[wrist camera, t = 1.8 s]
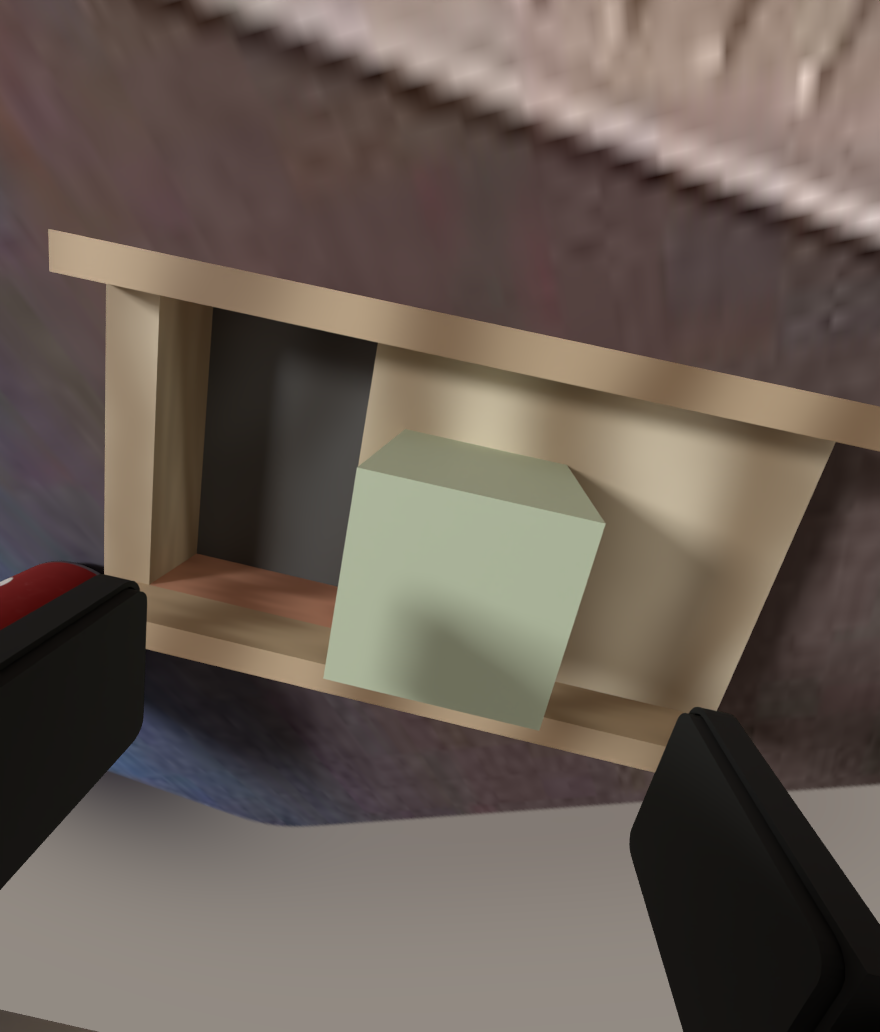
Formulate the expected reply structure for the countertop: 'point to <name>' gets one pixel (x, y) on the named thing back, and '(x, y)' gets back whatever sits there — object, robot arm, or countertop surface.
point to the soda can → (39, 588)
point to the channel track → (449, 414)
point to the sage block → (461, 577)
